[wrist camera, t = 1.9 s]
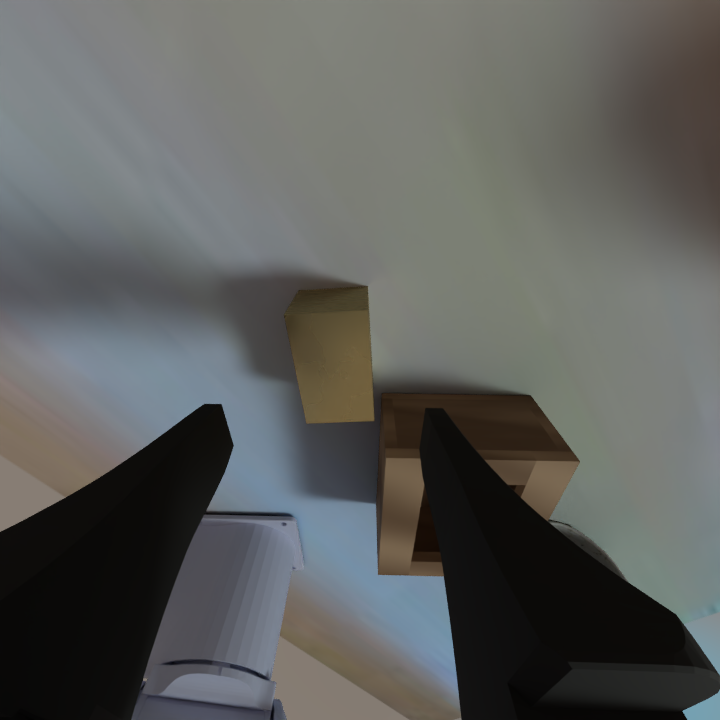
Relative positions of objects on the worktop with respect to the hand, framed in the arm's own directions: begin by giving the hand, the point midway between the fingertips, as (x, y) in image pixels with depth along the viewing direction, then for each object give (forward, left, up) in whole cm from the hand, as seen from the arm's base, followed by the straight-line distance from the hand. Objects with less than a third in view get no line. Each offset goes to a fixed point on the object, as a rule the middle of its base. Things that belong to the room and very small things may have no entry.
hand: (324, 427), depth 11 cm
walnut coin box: (+7, -9, -7) cm, 13 cm away
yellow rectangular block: (0, 0, -7) cm, 7 cm away
